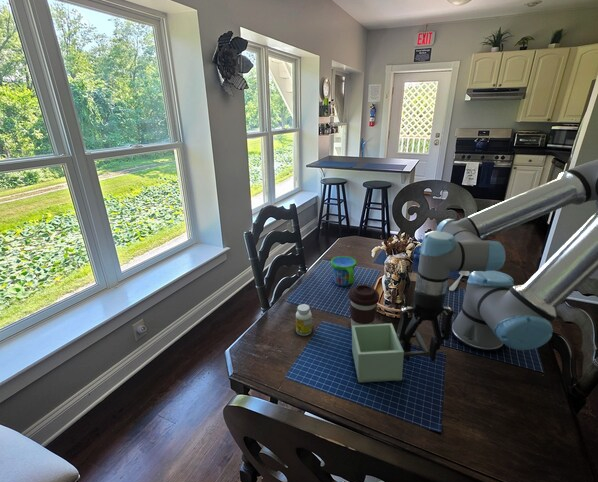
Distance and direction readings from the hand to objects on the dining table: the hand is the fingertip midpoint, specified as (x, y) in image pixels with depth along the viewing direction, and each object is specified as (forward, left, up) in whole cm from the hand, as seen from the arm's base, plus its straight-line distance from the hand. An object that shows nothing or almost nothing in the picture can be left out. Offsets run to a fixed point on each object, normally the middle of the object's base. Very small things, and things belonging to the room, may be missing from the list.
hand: (418, 357), depth 93 cm
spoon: (-34, -48, -3) cm, 59 cm away
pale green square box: (+8, 0, -3) cm, 9 cm away
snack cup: (+16, -48, -3) cm, 51 cm away
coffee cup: (+13, -18, -3) cm, 23 cm away
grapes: (-25, -68, -3) cm, 72 cm away
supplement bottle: (+33, -16, -3) cm, 37 cm away
